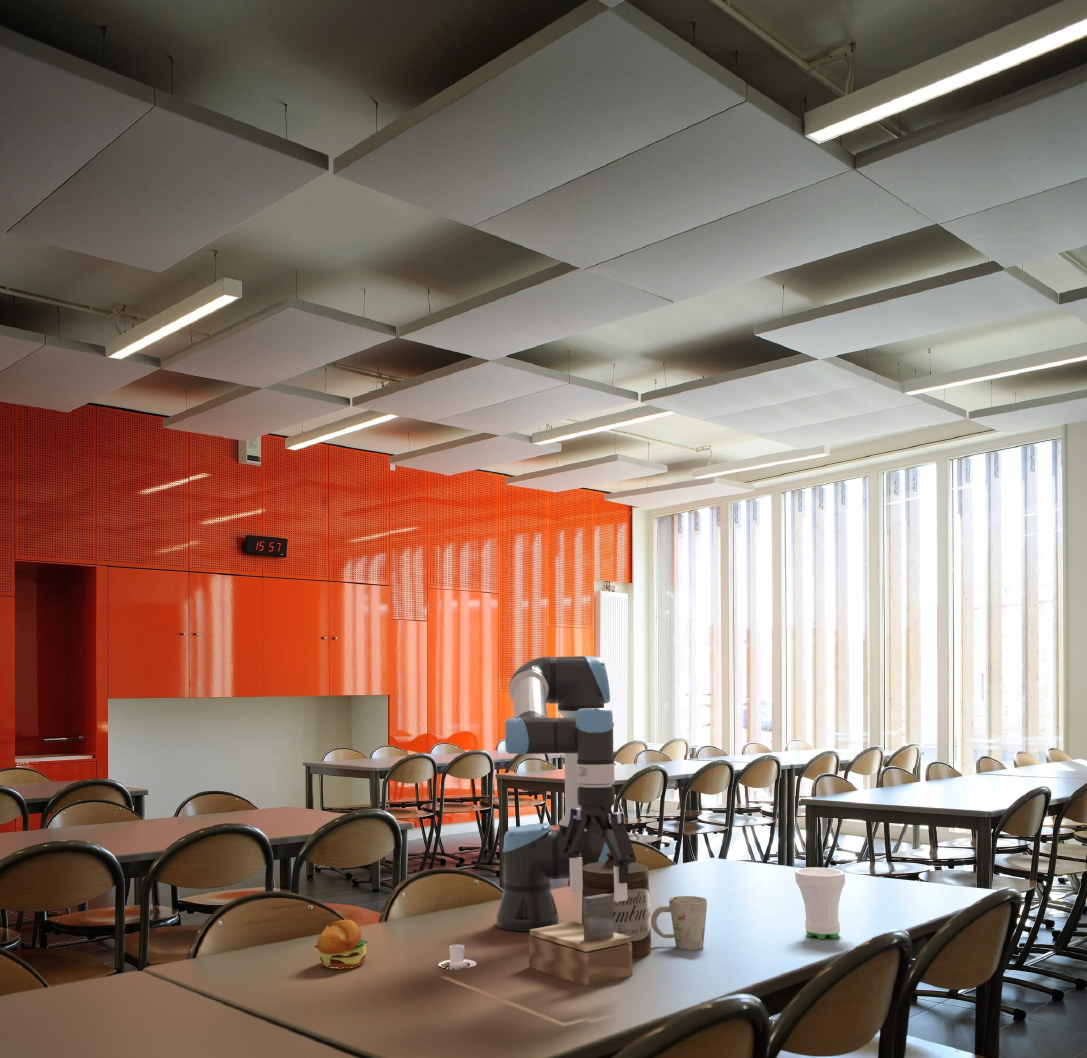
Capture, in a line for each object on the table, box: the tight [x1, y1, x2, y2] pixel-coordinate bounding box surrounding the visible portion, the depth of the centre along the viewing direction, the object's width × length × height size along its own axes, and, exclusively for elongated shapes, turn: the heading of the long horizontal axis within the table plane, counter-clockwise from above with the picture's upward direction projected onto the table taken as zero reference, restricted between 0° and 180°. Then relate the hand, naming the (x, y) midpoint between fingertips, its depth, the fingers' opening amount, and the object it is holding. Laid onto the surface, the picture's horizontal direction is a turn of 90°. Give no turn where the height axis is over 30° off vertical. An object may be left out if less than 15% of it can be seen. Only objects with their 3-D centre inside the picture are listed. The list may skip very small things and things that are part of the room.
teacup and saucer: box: [437, 943, 477, 971], centre depth 212 cm, size 9×8×4 cm
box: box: [528, 935, 634, 987], centre depth 204 cm, size 18×12×6 cm, turn 38°
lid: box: [529, 894, 631, 952], centre depth 206 cm, size 18×12×9 cm, turn 38°
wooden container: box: [581, 850, 652, 960], centre depth 221 cm, size 15×15×22 cm
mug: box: [650, 895, 708, 951], centre depth 226 cm, size 8×13×10 cm, turn 78°
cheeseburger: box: [314, 919, 368, 968], centre depth 213 cm, size 10×11×10 cm
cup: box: [794, 866, 846, 940], centre depth 234 cm, size 11×11×14 cm
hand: (598, 896), depth 201 cm, fingers open, 13 cm apart
